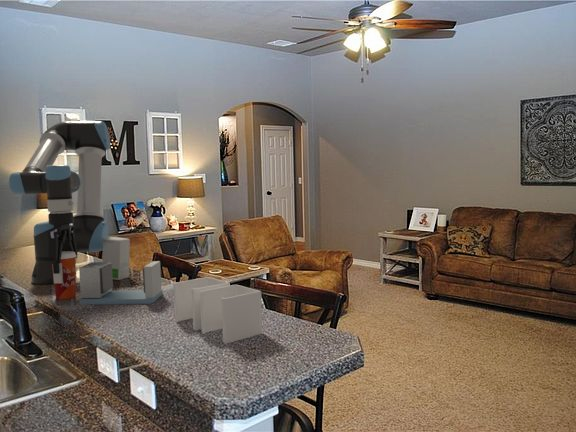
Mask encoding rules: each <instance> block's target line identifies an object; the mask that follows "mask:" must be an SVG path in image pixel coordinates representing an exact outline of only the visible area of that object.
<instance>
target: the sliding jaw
mask: <svg viewBox="0 0 576 432" xmlns="http://www.w3.org/2000/svg"><path fill="white" fill-rule="evenodd" d="M78 270H79V287H80V299H82V298H101V297H103V296H105V295H106V294H108V293H109V292H111V291H113V288H114V279H113V276H112V264H111V262H103V261H93V262H89V263H87V264H85V265H82V266H80V267H79V268H78Z"/></svg>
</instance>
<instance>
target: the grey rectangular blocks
mask: <svg viewBox="0 0 576 432" xmlns="http://www.w3.org/2000/svg"><path fill="white" fill-rule="evenodd" d="M172 286H173V304H174V306H173V307H174V322H175V323H179V322H181V321H186V320H191V319H192V329H193V331H195V330H196V331H199V329H200V331H201V334H202V335H206V333H211V332H213V331H218V330H222V343H224V345H226V344H230V343H232V342H237V341H240V340H243V339H248V338H250V337H251V338H252V337H254V336H258V335H262V334H263V311H262V309H263V307H262V291H261V290H258V289H256V288H255V289H254V288H250V287H247V286H243V285H239V284H232V285H231V284H230V282H228V281H225V280H222V279H218V278H213V277H211V276H206V277H199V278H195V279H188V280H183V281H178V282H172ZM210 331H211V332H210Z"/></svg>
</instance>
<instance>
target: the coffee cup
mask: <svg viewBox="0 0 576 432" xmlns="http://www.w3.org/2000/svg"><path fill="white" fill-rule="evenodd" d="M76 261H77V258H76V254H75V252H73V251H64V252H62V254H61V261H60V263H62V273H63V283H53V287H54V294H55V299H56V300H62V301H63V300H70V299H74V298H75V297H76V290H77V287H76V286H77V285H76V284H77V283H76V279H77V275H76V274H77V273H76V271H77V270H76V269H77V267H76V266H77V264H76V263H77V262H76ZM52 271H53V264H52ZM53 279H54V278H53Z"/></svg>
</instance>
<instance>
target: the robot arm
mask: <svg viewBox="0 0 576 432" xmlns="http://www.w3.org/2000/svg"><path fill="white" fill-rule="evenodd" d="M110 149H111V138H110V133H109V128H108V126H107V124H106V123H105V122H104V121H102V120H79V121H78V120H77V121H76V120H75V121H74V120H66V121H65V120H64V121H61V122H59V123H56V124H54V125H52V126H50V127H49V128H47V130H45V131H44V133H42V134H41V137H40V138H39V145H38V147H37V148H36V149H35V151H34V152H33V154H32V156H31V158H30V159H29V160H28V162H27V164H26V165H25V166H24V168H23V170H22V171H15V172H12V173H10V175H9V178H8V185H9V190H10V191H11V192H12V193H13V194H15V195H24V196H25V195H40V194H46V197H47V200H46V201H47V212H49V213H48V214H47V216H48V218H47V219H48V221H43V222H39V223H36V224H35V225H33V244H34V258H35V262H34V266H33V270H32V273H31V283H32V284H35V285H51V284H53V285H54V283H63V273H62V263H60V261H61V254H62V252H64V251H73V252H75V254H76V259H77V258H78V253H93V252H95V253H96V252H101V251H102V252H103V239H104V238H109V233H110V231H109V228H110V227H109V223H108V222H107V221H106V220H105V217H104V216H103V215H102V214H101V197H102V196H101V195H102V194H101V191H102V188H101V187H102V161H103V159H102V158H103V157H105V156H106V153H107V152H106V150H107V151H108V150H110ZM64 151H74V153H75V154H76V155H77V156H78V173H77V172H75V171H72V170H71V166H69V165H67V164H64V165H63V164H56V165H55V162H56V160H57V159H58V157H59V155H61V154H62V153H64ZM75 192H77V197H76V198H77V202H76V213H75V214H74V213H73V212H72V211H73V208H74V206H73V205H74V202H73V193H75ZM52 264H53V271H52ZM53 278H54V279H53Z"/></svg>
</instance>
